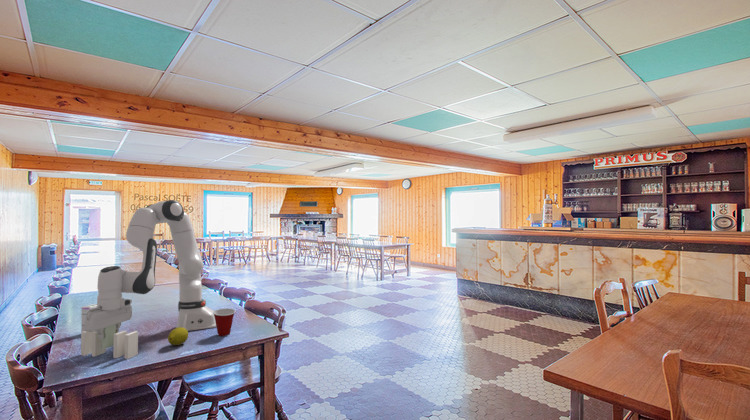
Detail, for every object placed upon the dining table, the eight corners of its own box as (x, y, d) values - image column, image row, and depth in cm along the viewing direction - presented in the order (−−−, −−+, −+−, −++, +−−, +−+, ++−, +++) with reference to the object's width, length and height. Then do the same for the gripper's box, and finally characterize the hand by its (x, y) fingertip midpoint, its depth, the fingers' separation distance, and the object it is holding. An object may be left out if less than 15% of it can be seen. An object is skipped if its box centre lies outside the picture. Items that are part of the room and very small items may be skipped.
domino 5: (124, 358, 154) (124, 334, 154) (134, 354, 159) (134, 331, 159) (128, 358, 154) (128, 335, 154) (137, 354, 159) (138, 331, 159)
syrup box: (90, 335, 185) (90, 306, 185) (80, 334, 186) (81, 306, 186) (100, 332, 190) (101, 304, 190) (91, 331, 191) (91, 303, 192)
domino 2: (91, 356, 157) (92, 332, 157) (102, 351, 162) (102, 329, 162) (95, 356, 157) (95, 333, 157) (105, 352, 162) (106, 329, 162)
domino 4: (113, 357, 155) (113, 334, 155) (123, 353, 160) (123, 330, 160) (116, 358, 155) (117, 334, 155) (126, 353, 160) (127, 330, 160)
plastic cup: (219, 339, 178) (219, 314, 179) (208, 334, 185) (209, 311, 186) (239, 333, 187) (239, 310, 187) (229, 329, 194) (229, 307, 194)
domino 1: (80, 355, 158) (81, 332, 158) (91, 351, 163) (91, 328, 163) (84, 355, 158) (84, 332, 158) (95, 351, 163) (95, 329, 163)
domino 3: (115, 344, 161) (115, 322, 161) (105, 348, 156) (105, 325, 156) (111, 344, 161) (112, 321, 161) (101, 348, 156) (102, 325, 156)
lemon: (180, 340, 177) (180, 324, 177) (193, 342, 175) (193, 325, 175) (161, 348, 166) (161, 330, 167) (175, 350, 164) (175, 332, 164)
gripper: (93, 310, 148) (92, 344, 148) (134, 299, 168) (134, 329, 168) (80, 309, 149) (79, 343, 149) (123, 298, 169) (122, 328, 169)
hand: (109, 335), depth 159 cm, fingers closed on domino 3, 5 cm apart
